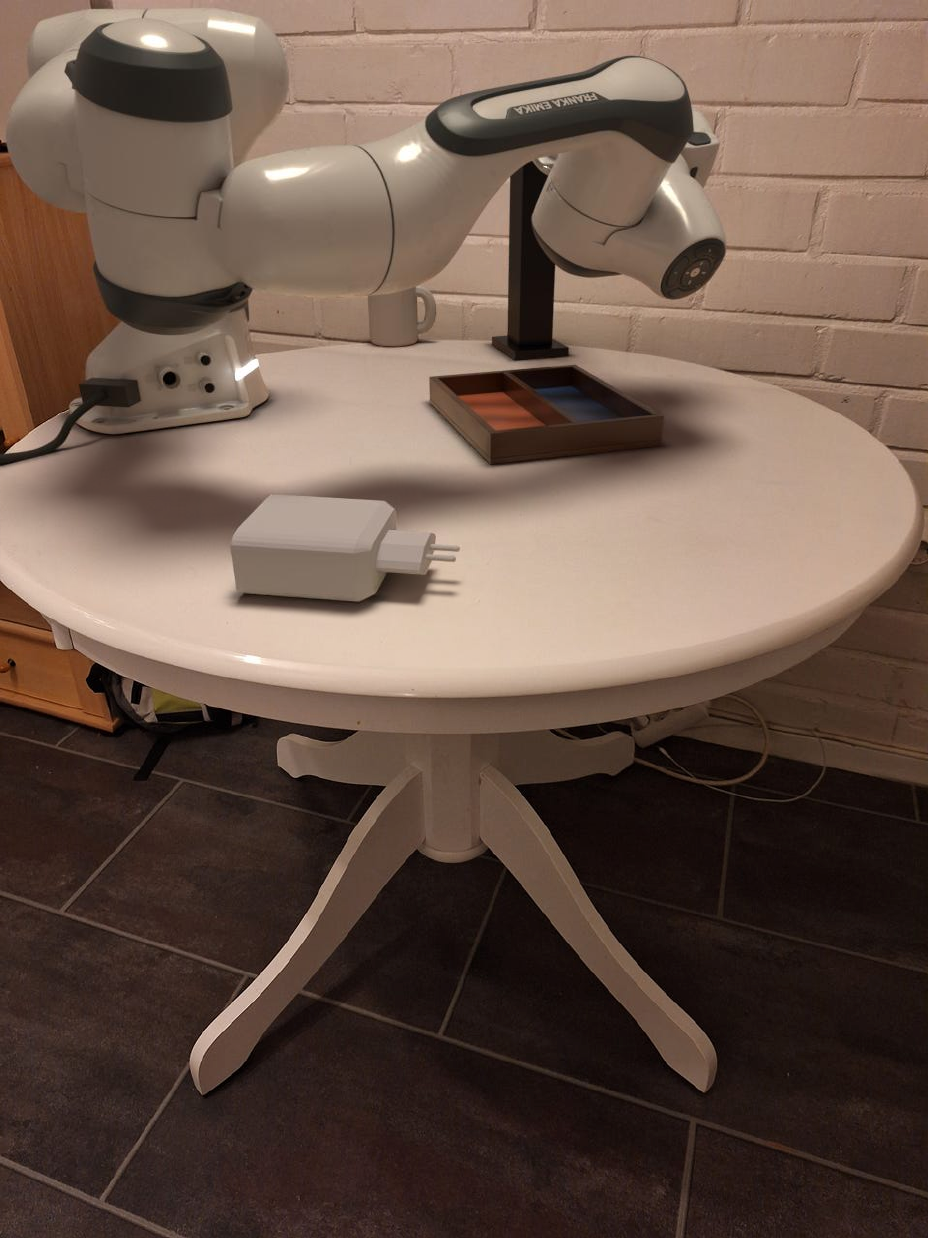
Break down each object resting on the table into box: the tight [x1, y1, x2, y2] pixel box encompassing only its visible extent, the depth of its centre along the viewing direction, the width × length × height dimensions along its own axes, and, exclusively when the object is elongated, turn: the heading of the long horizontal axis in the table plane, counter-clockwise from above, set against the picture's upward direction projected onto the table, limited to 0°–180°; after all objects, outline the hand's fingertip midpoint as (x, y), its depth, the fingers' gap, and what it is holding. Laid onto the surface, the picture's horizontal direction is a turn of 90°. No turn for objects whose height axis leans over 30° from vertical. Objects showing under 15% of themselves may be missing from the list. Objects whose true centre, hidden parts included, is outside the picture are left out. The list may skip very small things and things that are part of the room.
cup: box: [367, 285, 437, 348], centre depth 133 cm, size 7×10×9 cm
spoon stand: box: [491, 161, 570, 361], centre depth 124 cm, size 10×8×26 cm
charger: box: [230, 493, 461, 602], centre depth 66 cm, size 5×9×15 cm
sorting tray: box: [428, 364, 665, 465], centre depth 99 cm, size 23×18×3 cm
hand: (593, 96), depth 100 cm, fingers closed
